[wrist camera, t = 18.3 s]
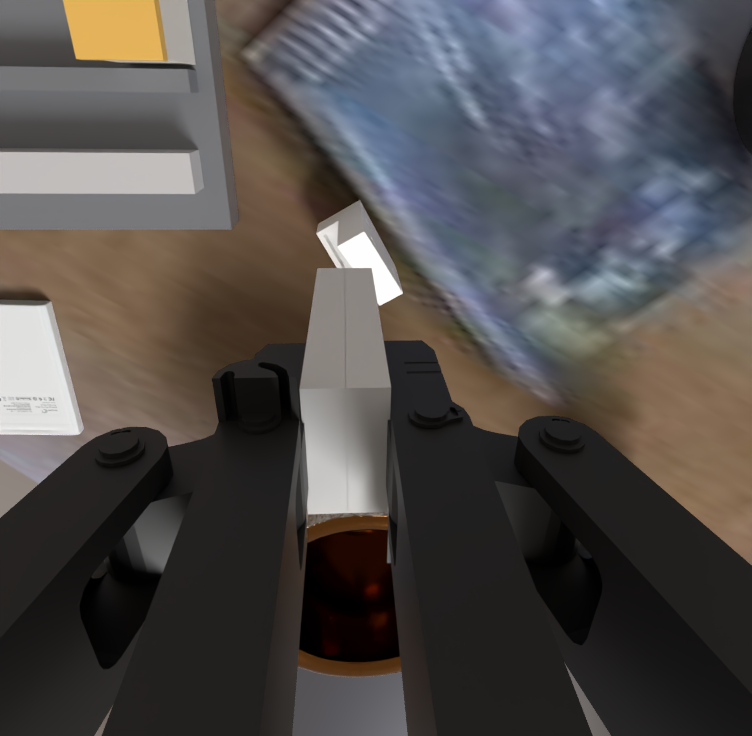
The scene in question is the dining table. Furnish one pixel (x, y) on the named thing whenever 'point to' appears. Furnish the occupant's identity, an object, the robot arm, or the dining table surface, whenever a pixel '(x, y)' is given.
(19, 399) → the external hard drive
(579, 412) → the dining table surface
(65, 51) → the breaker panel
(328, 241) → the white angled block
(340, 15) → the dining table surface
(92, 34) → the block
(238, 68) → the dining table surface
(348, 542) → the planter
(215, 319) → the dining table surface
